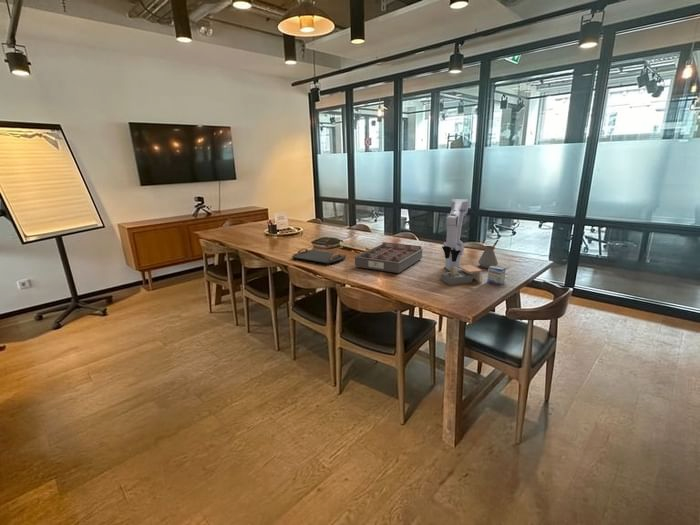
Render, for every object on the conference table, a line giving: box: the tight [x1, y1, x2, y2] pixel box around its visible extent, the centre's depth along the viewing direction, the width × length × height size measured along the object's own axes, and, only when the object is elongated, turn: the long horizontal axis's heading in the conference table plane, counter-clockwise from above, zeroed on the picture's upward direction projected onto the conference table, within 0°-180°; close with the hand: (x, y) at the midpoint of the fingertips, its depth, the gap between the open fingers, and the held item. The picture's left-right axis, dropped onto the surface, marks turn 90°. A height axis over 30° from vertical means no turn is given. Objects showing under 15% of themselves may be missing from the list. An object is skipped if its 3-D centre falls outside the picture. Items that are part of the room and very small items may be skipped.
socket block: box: [440, 270, 474, 286], centre depth 198 cm, size 10×14×4 cm
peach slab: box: [458, 264, 483, 283], centre depth 199 cm, size 12×8×7 cm
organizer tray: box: [353, 241, 424, 274], centre depth 234 cm, size 32×40×10 cm
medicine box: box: [487, 265, 507, 286], centre depth 193 cm, size 8×4×9 cm, turn 44°
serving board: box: [291, 248, 347, 267], centre depth 251 cm, size 39×23×6 cm, turn 55°
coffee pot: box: [478, 239, 500, 269], centre depth 224 cm, size 21×12×15 cm, turn 138°
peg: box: [449, 267, 457, 276], centre depth 197 cm, size 4×4×8 cm
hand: (450, 259), depth 204 cm, fingers open, 7 cm apart
